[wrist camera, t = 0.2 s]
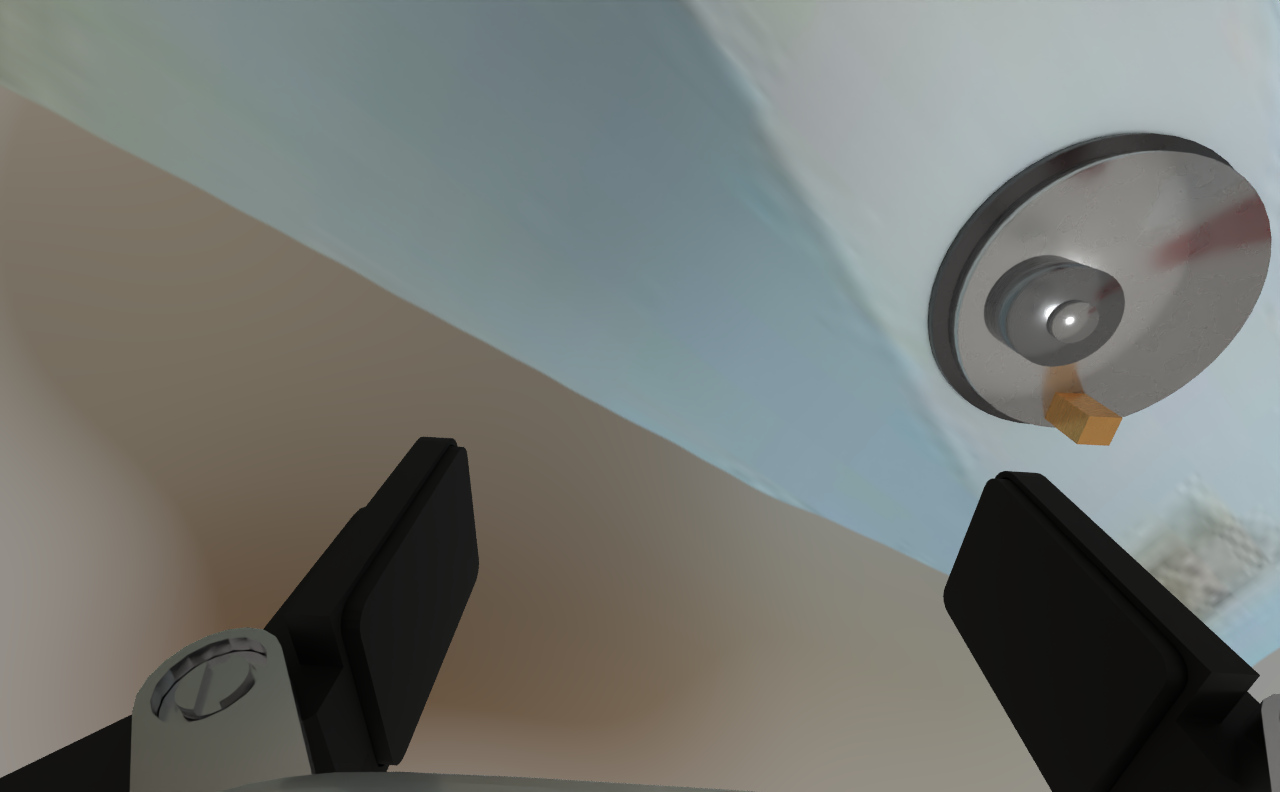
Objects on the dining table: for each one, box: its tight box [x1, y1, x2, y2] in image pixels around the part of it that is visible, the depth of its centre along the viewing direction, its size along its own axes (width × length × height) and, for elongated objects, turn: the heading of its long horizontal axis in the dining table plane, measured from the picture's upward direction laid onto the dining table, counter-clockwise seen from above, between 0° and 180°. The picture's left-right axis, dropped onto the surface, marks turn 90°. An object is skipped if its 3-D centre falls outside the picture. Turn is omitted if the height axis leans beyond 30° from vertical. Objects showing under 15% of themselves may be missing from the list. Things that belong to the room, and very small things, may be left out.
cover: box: [984, 255, 1125, 367], centre depth 39 cm, size 7×7×5 cm
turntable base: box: [928, 133, 1234, 424], centre depth 44 cm, size 23×23×1 cm
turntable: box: [948, 150, 1271, 446], centre depth 40 cm, size 21×21×6 cm
